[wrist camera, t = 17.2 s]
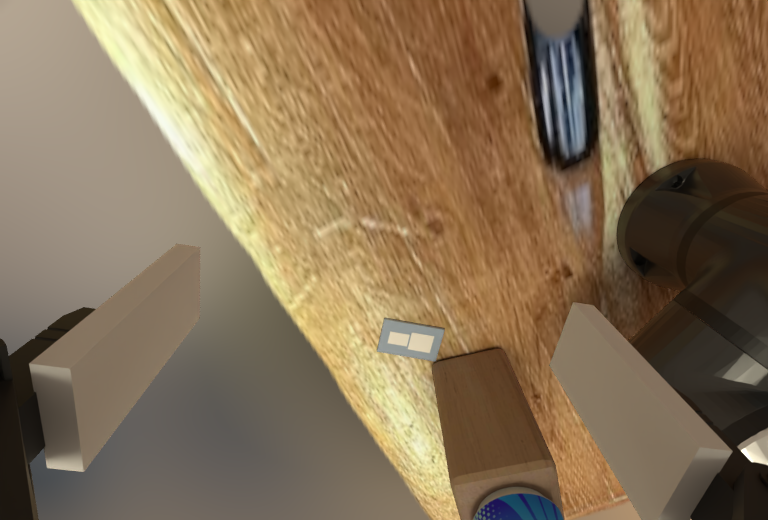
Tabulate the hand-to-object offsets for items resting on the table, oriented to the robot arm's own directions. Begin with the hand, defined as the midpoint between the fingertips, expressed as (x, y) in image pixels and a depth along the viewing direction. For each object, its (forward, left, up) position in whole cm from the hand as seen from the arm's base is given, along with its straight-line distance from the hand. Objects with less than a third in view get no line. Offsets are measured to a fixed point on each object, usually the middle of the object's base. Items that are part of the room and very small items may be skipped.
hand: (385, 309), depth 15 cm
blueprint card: (-8, +23, -36) cm, 43 cm away
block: (-18, +28, -36) cm, 49 cm away
